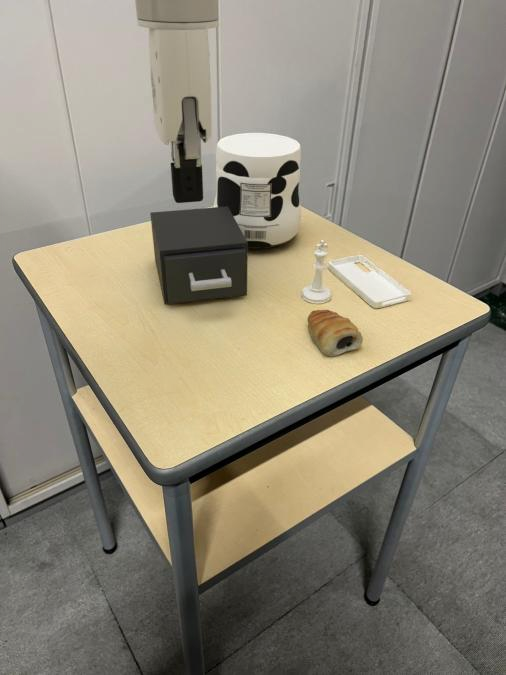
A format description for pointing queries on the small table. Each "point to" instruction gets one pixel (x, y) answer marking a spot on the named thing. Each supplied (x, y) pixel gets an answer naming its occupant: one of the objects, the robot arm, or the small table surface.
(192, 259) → the drawer
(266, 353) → the small table surface
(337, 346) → the pastry
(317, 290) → the chess piece
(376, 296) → the phone case
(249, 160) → the milk container
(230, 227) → the cabinet
